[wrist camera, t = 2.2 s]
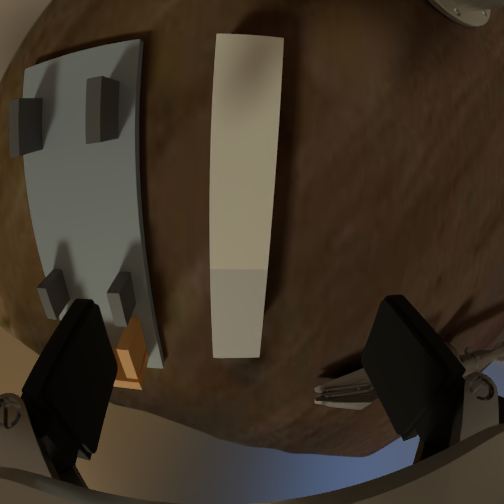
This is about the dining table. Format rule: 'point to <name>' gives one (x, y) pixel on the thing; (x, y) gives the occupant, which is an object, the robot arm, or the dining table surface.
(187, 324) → the dining table surface
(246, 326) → the long cream stick
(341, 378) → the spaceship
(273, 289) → the dining table surface
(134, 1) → the dining table surface
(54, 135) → the clip rail
